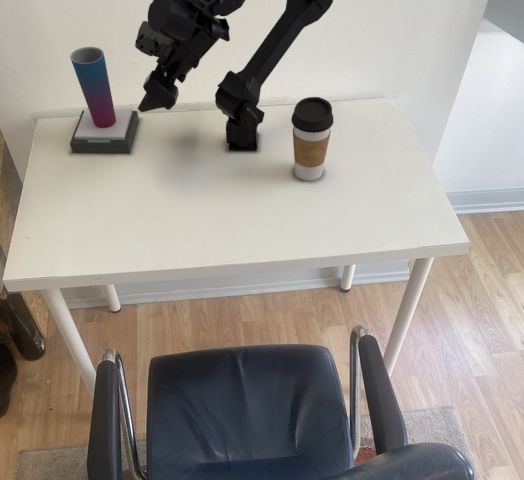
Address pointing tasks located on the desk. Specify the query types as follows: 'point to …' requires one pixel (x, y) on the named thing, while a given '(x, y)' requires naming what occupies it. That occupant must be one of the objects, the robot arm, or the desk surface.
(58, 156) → the desk surface
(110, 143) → the scale
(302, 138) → the coffee cup
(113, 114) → the cup
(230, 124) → the robot arm
